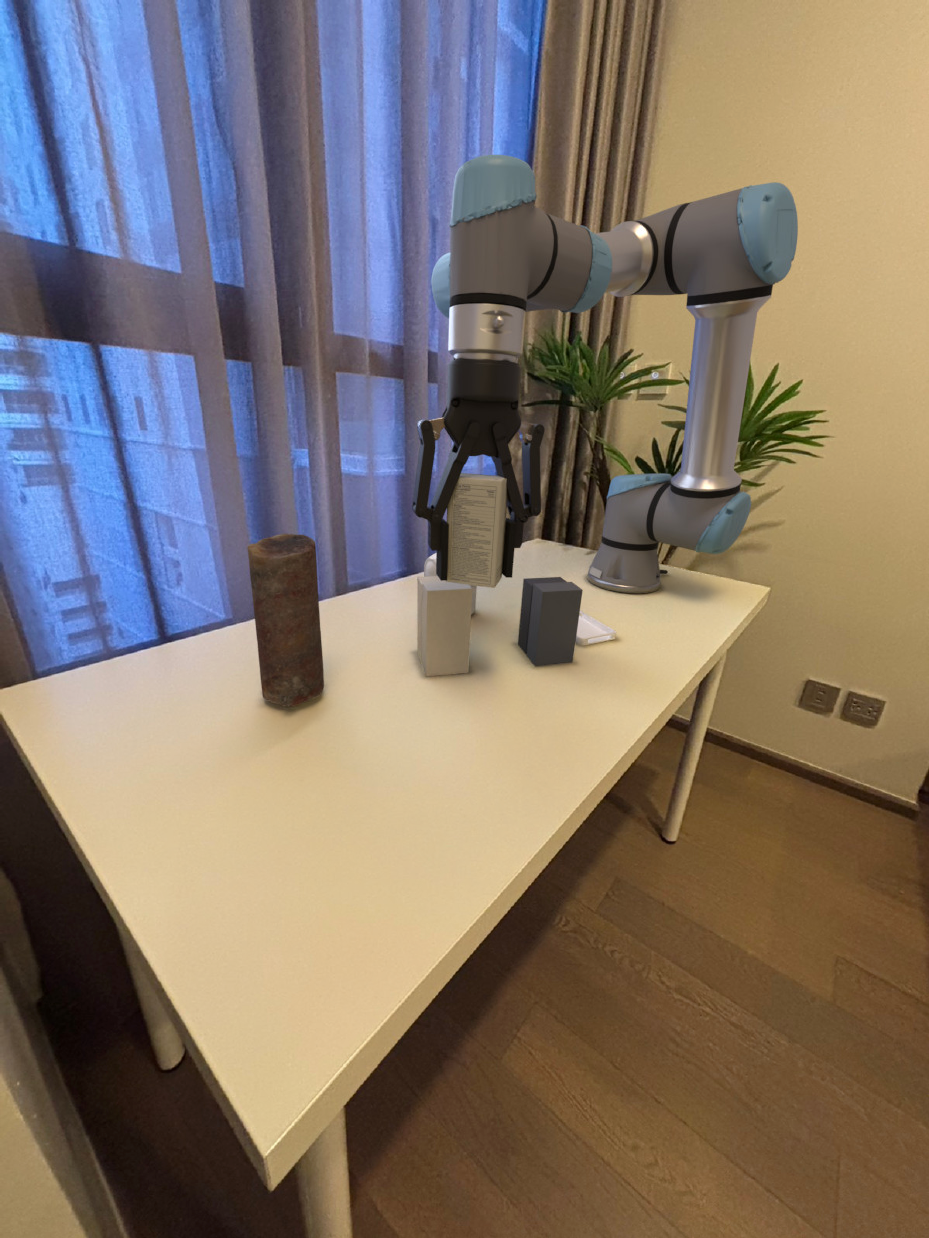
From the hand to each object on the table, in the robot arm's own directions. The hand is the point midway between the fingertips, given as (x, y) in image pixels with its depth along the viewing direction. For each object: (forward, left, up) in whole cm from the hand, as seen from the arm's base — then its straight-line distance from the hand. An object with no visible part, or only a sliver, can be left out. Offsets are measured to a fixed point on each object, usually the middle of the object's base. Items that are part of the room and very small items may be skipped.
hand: (474, 575), depth 60 cm
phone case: (-23, -18, -16) cm, 33 cm away
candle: (+22, -3, -16) cm, 27 cm away
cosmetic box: (0, 0, -1) cm, 1 cm away
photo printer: (-3, -25, -16) cm, 30 cm away
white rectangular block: (+2, -8, -16) cm, 18 cm away
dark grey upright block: (-14, -8, -16) cm, 23 cm away
